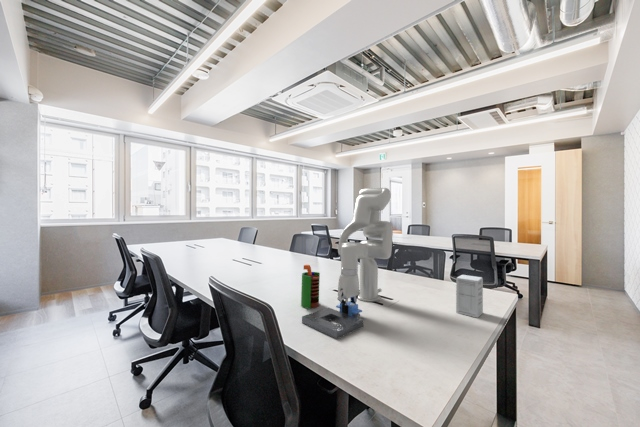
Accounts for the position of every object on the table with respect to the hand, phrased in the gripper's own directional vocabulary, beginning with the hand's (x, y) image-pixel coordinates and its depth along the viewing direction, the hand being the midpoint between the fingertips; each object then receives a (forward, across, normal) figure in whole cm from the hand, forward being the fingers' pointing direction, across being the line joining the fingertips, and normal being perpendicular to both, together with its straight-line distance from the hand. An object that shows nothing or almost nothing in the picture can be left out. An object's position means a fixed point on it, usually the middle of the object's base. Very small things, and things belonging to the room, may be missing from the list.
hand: (348, 311), depth 125 cm
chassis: (+2, +13, +2) cm, 13 cm away
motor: (+2, +4, -22) cm, 22 cm away
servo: (+2, 0, 0) cm, 2 cm away
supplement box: (+2, -45, +36) cm, 58 cm away
